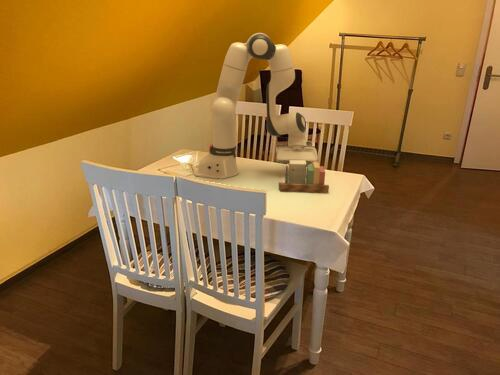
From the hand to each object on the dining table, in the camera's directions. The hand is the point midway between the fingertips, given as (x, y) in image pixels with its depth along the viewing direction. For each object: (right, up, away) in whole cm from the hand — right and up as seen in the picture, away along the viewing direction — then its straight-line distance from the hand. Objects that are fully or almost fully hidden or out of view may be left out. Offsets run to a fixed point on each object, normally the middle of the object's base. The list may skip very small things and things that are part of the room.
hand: (296, 170), depth 205 cm
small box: (0, -6, -1) cm, 6 cm away
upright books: (+7, -8, -8) cm, 14 cm away
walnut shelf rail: (+2, -10, -12) cm, 16 cm away
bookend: (-7, -8, -7) cm, 13 cm away
